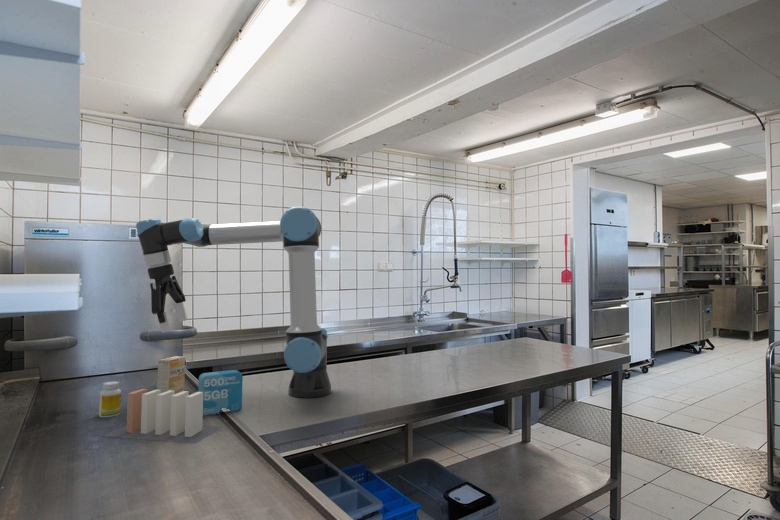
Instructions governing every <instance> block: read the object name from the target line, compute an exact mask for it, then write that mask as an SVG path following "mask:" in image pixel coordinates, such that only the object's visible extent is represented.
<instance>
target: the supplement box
mask: <svg viewBox="0 0 780 520" xmlns="http://www.w3.org/2000/svg"><path fill="white" fill-rule="evenodd" d="M157 362H158V363H157V384H156V385H157V386H156V390H161V393H164V392H166V391H169V390H174V391H175V394H177V393H180V392H182V391H185V372H186V356H178V355H177V356H171V357H166V358H162V359H158V360H157Z"/></svg>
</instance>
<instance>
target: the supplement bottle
mask: <svg viewBox="0 0 780 520" xmlns="http://www.w3.org/2000/svg"><path fill="white" fill-rule="evenodd" d="M119 387H120V381H107V382H103V383H102V389H103V390H101V391H100V393H99V402H98V403H99V404H98V405H99V406H98V417H100V418H111V417H115V416H119V415H120V414H121V412H122V411H121V409H122V407H121V405H122V389H120V388H119Z"/></svg>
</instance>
